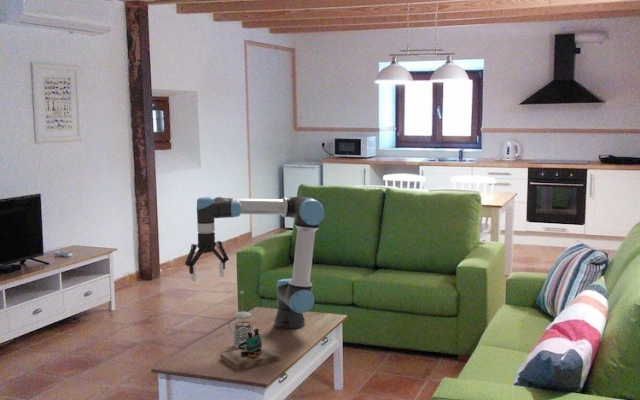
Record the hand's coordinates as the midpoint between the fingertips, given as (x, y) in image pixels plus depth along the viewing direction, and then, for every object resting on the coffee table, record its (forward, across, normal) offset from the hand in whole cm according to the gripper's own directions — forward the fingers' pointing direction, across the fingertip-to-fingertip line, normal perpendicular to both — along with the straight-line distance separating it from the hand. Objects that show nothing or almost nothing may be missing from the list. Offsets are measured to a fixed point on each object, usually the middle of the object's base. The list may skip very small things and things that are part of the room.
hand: (207, 278), depth 309 cm
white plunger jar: (+31, -12, +8) cm, 34 cm away
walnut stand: (+31, -6, +28) cm, 42 cm away
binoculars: (+28, -6, +28) cm, 40 cm away
